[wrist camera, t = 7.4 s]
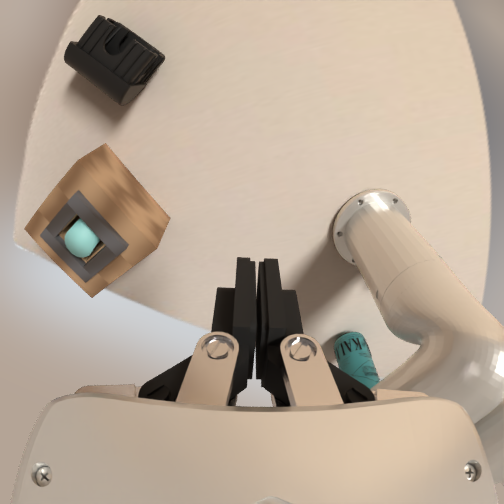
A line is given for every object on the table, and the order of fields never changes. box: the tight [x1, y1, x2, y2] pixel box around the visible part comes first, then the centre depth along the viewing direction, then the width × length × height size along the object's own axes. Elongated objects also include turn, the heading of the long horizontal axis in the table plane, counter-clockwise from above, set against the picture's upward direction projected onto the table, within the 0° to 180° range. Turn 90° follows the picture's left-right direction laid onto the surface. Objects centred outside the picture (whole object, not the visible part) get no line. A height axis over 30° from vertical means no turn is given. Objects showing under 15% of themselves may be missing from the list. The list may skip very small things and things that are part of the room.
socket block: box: [24, 143, 170, 298], centre depth 36 cm, size 14×14×9 cm
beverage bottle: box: [334, 332, 380, 389], centre depth 47 cm, size 6×7×20 cm
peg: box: [65, 218, 100, 258], centre depth 36 cm, size 4×4×9 cm
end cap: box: [64, 15, 165, 105], centre depth 26 cm, size 10×7×7 cm
